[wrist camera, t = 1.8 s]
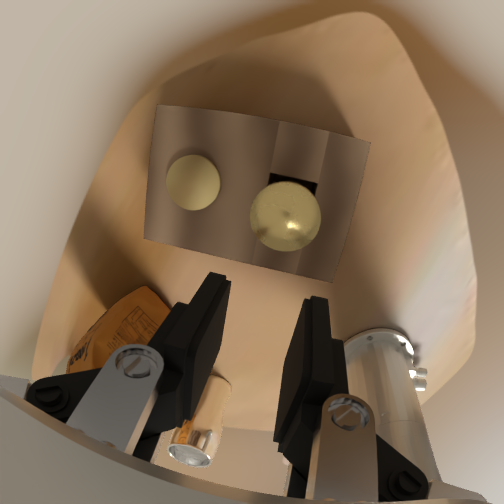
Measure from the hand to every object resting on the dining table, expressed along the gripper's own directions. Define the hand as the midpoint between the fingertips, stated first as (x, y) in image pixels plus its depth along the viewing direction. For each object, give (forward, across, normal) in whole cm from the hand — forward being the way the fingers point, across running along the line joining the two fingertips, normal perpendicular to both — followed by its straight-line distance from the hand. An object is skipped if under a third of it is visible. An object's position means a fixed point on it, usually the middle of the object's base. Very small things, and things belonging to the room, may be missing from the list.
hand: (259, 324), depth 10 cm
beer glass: (+27, +5, +35) cm, 45 cm away
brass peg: (+21, 0, 0) cm, 21 cm away
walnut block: (+27, +4, 0) cm, 27 cm away
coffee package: (+27, +18, +24) cm, 41 cm away
